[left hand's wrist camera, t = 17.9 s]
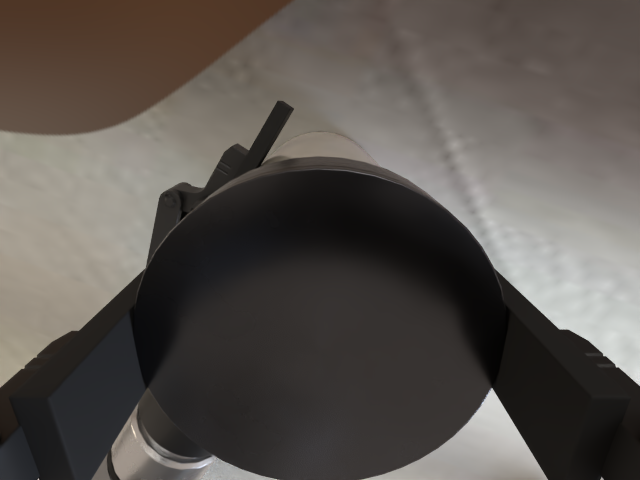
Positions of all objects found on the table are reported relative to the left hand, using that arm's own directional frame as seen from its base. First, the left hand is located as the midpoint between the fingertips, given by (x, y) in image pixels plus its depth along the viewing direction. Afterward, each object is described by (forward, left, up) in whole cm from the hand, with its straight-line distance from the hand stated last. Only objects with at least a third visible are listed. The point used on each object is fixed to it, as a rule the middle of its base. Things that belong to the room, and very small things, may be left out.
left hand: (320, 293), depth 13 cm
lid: (0, 0, +3) cm, 3 cm away
